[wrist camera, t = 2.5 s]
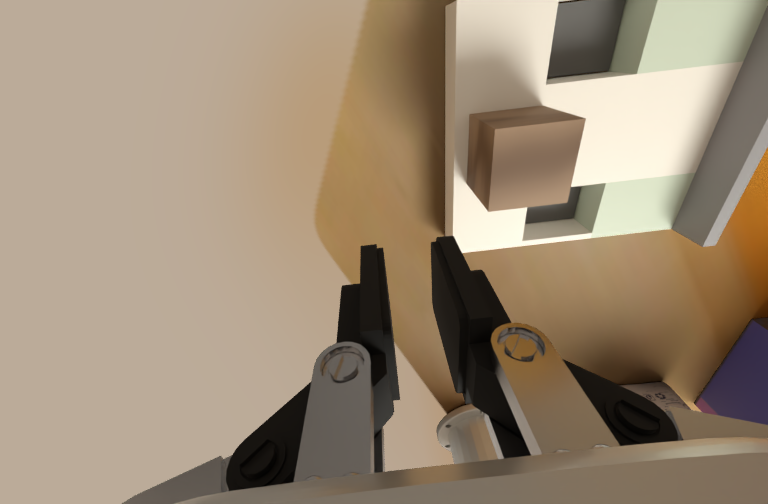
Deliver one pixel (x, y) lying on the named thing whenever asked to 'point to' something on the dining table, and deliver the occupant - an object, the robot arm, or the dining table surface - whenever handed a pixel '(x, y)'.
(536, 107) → the block
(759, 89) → the tray
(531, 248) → the dining table surface
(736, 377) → the blue rectangular box
